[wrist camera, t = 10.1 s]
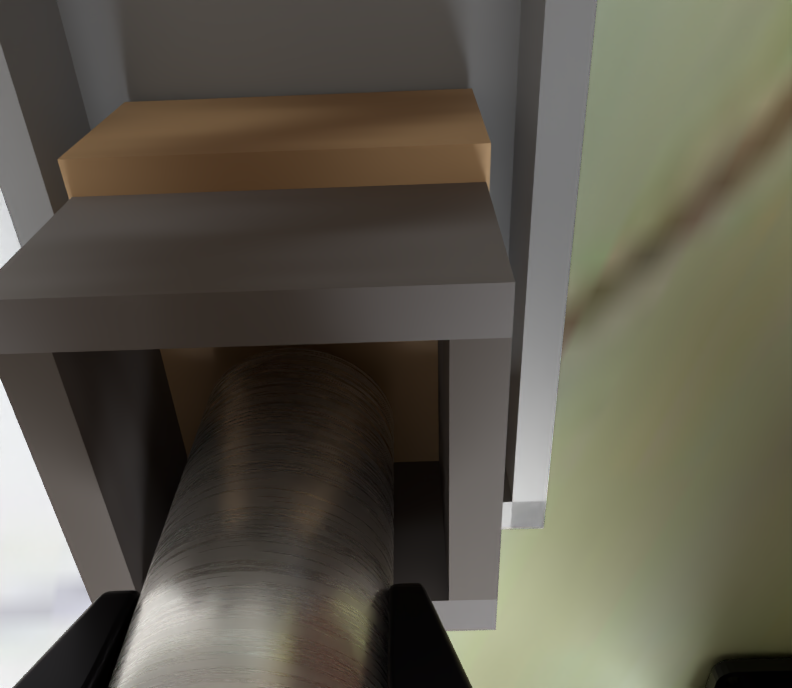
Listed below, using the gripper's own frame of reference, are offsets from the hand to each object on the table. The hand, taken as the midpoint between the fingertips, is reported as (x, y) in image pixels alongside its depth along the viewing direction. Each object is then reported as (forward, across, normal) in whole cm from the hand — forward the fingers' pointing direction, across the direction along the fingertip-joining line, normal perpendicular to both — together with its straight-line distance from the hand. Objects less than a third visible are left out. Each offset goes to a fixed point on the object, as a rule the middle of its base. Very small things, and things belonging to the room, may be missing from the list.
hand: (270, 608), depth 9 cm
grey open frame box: (+8, 0, -1) cm, 8 cm away
